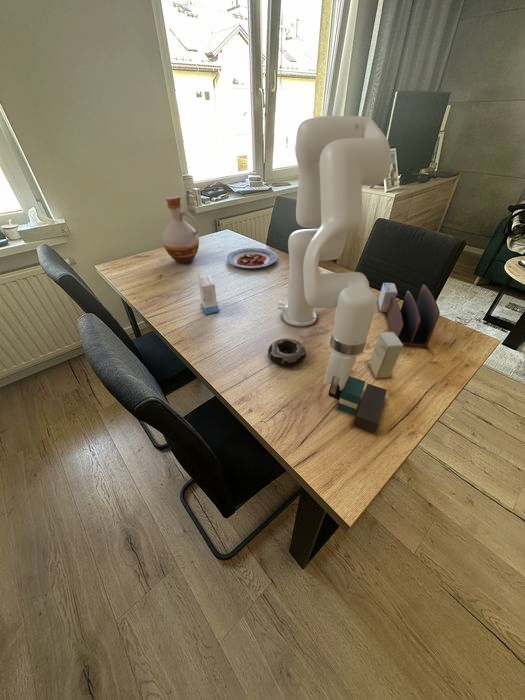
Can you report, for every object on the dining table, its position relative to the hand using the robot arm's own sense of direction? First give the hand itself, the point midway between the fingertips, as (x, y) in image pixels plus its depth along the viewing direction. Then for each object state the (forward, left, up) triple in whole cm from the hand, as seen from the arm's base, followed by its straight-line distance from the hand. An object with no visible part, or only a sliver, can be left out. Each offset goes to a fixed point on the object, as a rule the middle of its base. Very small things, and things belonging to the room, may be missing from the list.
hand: (334, 395), depth 76 cm
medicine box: (+4, +55, -2) cm, 55 cm away
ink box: (-57, +23, -2) cm, 62 cm away
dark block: (+9, 0, -2) cm, 9 cm away
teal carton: (+7, 0, -1) cm, 7 cm away
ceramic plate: (-65, +71, -2) cm, 97 cm away
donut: (-18, +10, -2) cm, 21 cm away
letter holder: (+13, +43, -2) cm, 45 cm away
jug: (-96, +56, -2) cm, 111 cm away
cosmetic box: (+9, +17, -2) cm, 19 cm away
